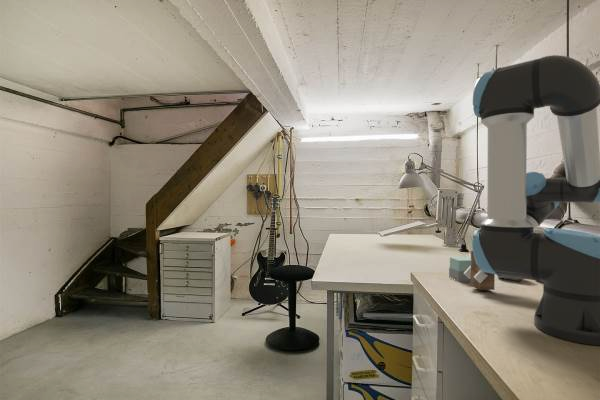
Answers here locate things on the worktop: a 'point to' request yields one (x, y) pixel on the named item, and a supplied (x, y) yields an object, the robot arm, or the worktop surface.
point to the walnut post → (486, 283)
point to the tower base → (458, 275)
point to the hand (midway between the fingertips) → (471, 277)
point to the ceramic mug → (510, 278)
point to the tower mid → (460, 263)
